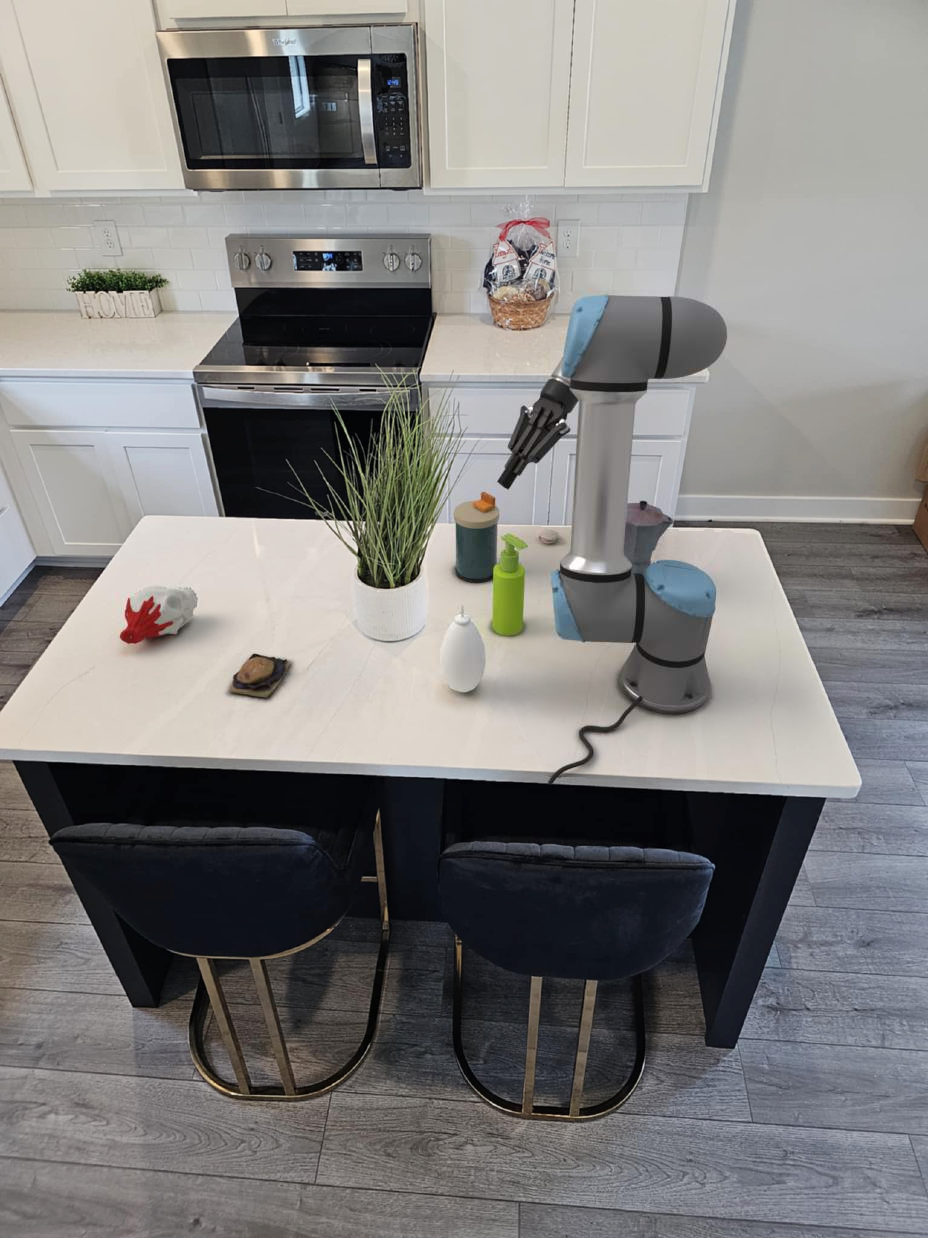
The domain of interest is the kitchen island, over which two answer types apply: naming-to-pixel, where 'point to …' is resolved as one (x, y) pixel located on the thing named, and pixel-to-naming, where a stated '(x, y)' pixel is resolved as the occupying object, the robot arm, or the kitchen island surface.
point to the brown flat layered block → (259, 676)
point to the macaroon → (548, 536)
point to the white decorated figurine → (157, 612)
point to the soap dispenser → (509, 588)
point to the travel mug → (475, 542)
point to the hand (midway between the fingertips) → (502, 485)
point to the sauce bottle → (462, 654)
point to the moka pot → (643, 533)
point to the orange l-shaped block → (485, 502)
